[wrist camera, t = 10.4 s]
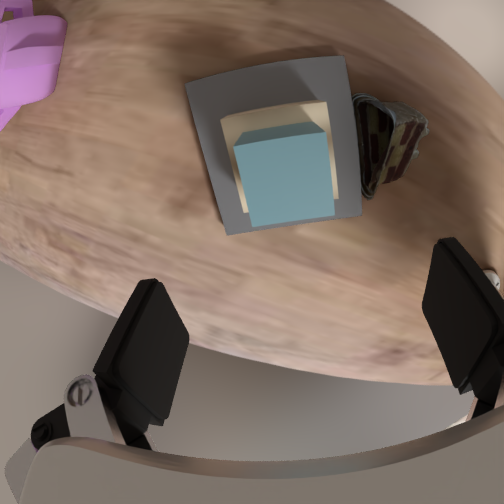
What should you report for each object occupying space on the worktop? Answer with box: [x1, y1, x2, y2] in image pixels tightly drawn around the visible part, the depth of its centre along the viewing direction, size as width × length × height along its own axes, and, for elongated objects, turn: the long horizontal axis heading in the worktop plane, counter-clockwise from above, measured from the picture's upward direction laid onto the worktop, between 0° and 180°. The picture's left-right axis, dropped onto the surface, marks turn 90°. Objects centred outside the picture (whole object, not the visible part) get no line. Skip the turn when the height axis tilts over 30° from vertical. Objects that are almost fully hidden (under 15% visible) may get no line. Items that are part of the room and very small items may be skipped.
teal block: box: [233, 121, 335, 227], centre depth 21 cm, size 6×6×6 cm
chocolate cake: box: [351, 93, 429, 200], centre depth 25 cm, size 10×7×12 cm
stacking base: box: [185, 55, 362, 235], centre depth 26 cm, size 18×16×6 cm
